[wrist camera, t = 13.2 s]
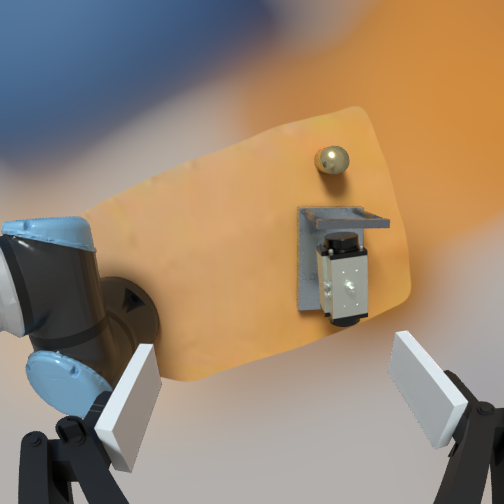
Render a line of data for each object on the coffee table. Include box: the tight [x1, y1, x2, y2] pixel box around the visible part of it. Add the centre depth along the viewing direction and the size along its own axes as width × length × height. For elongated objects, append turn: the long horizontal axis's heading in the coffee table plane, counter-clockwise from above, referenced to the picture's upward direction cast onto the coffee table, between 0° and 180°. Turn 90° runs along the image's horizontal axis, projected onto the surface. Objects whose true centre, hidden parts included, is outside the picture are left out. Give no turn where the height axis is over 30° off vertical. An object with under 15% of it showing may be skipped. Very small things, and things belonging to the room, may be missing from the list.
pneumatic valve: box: [316, 232, 368, 327], centre depth 42 cm, size 6×12×12 cm, turn 8°
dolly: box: [297, 206, 390, 311], centre depth 44 cm, size 10×16×14 cm, turn 2°
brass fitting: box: [315, 146, 349, 174], centre depth 44 cm, size 4×4×5 cm
